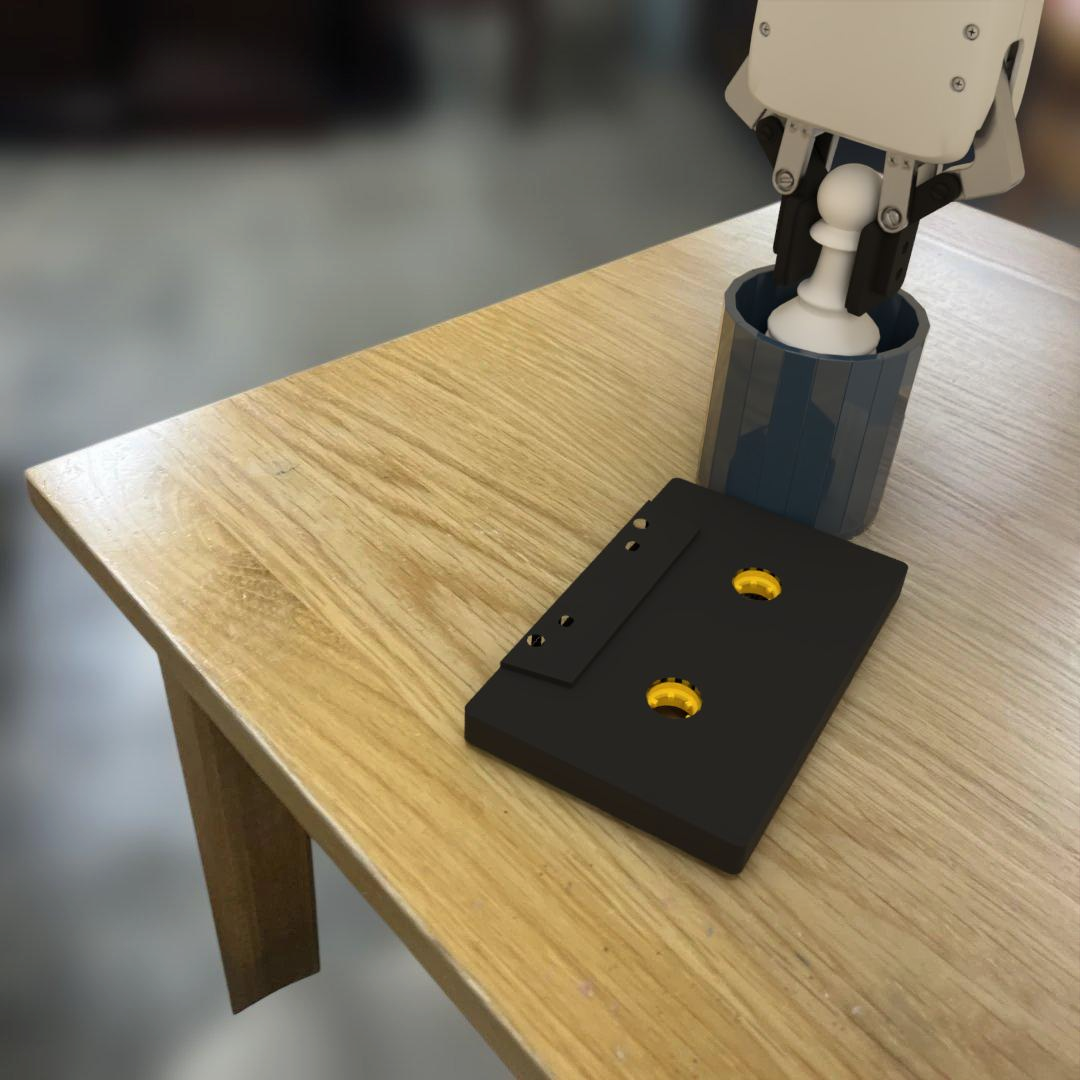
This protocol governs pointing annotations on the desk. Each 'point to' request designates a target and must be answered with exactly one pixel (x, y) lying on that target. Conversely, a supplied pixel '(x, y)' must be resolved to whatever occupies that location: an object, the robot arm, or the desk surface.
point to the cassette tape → (690, 669)
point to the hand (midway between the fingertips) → (832, 286)
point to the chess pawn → (833, 270)
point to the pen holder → (806, 411)
